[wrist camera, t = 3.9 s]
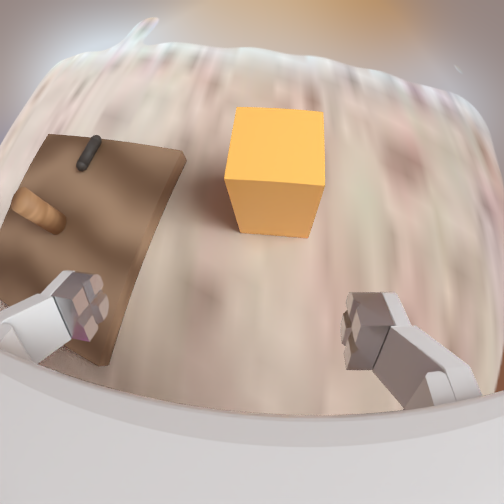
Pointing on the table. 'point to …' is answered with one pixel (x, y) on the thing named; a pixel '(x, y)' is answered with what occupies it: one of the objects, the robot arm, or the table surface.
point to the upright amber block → (276, 170)
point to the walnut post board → (86, 222)
